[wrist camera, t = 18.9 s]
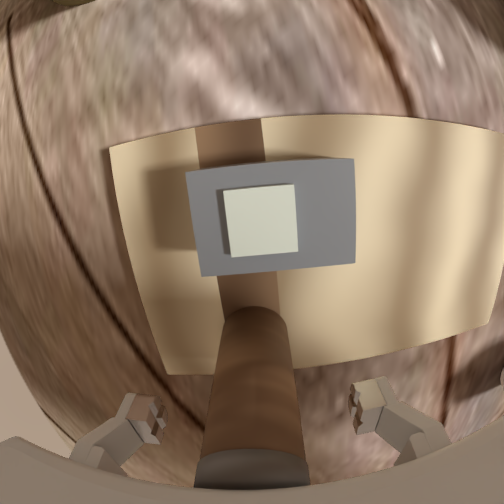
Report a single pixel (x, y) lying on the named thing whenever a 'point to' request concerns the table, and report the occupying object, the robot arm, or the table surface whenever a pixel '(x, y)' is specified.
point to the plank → (327, 277)
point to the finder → (273, 215)
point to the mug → (502, 378)
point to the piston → (72, 2)
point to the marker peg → (253, 409)
